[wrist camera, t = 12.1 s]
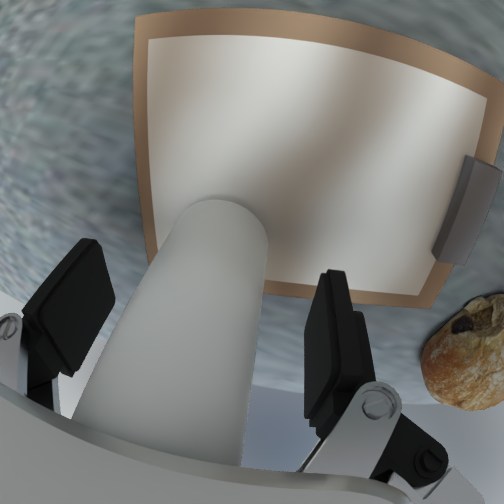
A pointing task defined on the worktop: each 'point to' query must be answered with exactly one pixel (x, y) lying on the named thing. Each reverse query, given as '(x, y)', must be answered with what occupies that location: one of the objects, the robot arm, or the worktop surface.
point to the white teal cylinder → (186, 341)
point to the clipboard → (318, 145)
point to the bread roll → (468, 357)
